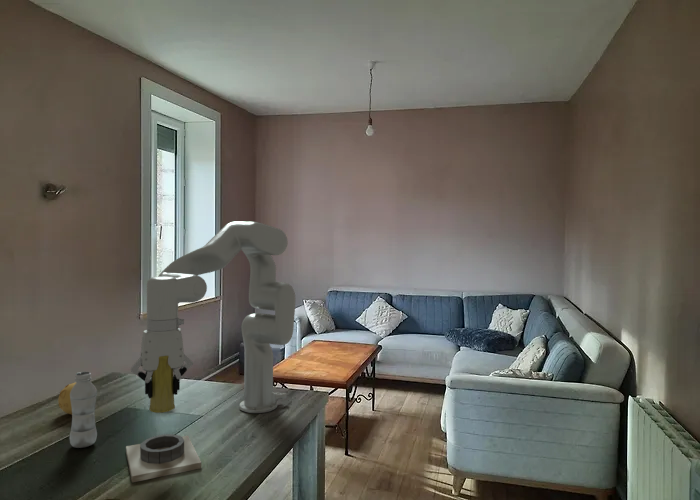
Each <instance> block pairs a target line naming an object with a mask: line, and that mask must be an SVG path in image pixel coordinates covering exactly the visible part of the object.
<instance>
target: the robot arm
mask: <svg viewBox="0 0 700 500" xmlns="http://www.w3.org/2000/svg"><path fill="white" fill-rule="evenodd" d="M288 241H289V240H288V237H287V234H286V232H284V231H283V229H280V228H278V227H274V226H271V225H268V224H266V223H262V222H257V221H231V222H229V223H226V224H225V225H224V226H223V227H222V228H221V229H220V230H219V231H217V233H216V234H215V235H214V236H213V237H212V238H211V239H209V240H208V242H206V244H205V245H204V244H203V245H204V246H201V247H199V248H197V249H195V250H192V251H191V252H189V253H187V254H184V255H182V256H180V257H178V258H177V259H175V260H174V261H172V262H171V263H169V264H168V265H167V266H166V267H165V268H164V269H163V270H162V271H161V272H160V273H159V275H157V276H153V277H150V278H148V280H147V282H146V329H145V330H143V332H142V336H141V343H140V345H141V346H140V357H139V358H137V360H136V362H134V364H133V365H132V366H131V367H130V371H131V372H132V373H133V374H135V376H138V378H140V379H141V380H143V381H144V394H145V395H147V397H148V399H150V398H151V397H152V382H151V376H152V373H153V371H155V370H157V367H158V364H159V357H160V356H169V357H168V364H169V366H170V367H171V369H173V380H174V396H176V395H177V396H178V391H180V388H181V387H180V385H181V384H180V383H181V378H182V376H183V375H184V374H186V372H187V371H188V369H190V368H191V367H192V366H193V365H194V362H193V361H192V360H191V359H190V358H189V356H188V355H186V354H185V352H184V340H183V334H182V330H181V329H182V328H179V327H180V326H181V325H184V324H185V319H183V318H180V317H179V303H187V304H189V303H196V302H199V301H200V300H203V298H204V297H205V295H206V293H207V290H208V286H207V282H206V280H205V279H204V278H203V277H201V276H200V275H204V274H210V273H213V272H217V271H220V270H223V269H224V268H225V267H227V265H229V263H230V262H231V261H232V260H233V259H234V258H235V257H236V256H237V255H238V254H239V253H240V251H241V252H243V254H244V255H245V257H246V258H247V260H248V262H249V269H250V271H249V272H250V273H249V274H250V276H249V285H248V286H249V288H248V302H249V305H250V306H251V307H252V308H254V309H258V310H265V311H274V313H275V314H270V313H262V312H258V313H257V312H256V313H255V312H254V313H250V314H247V315H246V316H245V317H244V319H243V320H242V322H241V334H242V335H241V336H242V341H243V346H244V348H243V349H244V365H243V366H244V372H243V373H244V375H243V377H244V379H243V381H244V382H243V383H244V385H243V387H244V388H243V390H244V391H243V395H244V396H243V398H244V399H243V400H242V401H241V402H240V403H239V405H238V406H239V407H238V408H239V410H241V411H242V412H245V413H249V414H261V413H262V414H263V413H268V412H271V411H273V410H275V409H277V407H278V401H279V400H286V399H287V397H288V395H287V393H286V392H282V393H281V392H280V391H278V392H274V353H273V352H274V351H273V348H272V346H271V345H275V346H276V345H278V346H279V345H280V346H284V345H287V344H289V342H290V341H291V340H292V337H293V334H294V327H295V316H296V314H295V313H296V311H295V310H296V292H295V289H294V287H293V286H292V285H290V284H289V282H288V283H287V282H281V281H277V279H276V277H277V267H276V266H277V265H276V262H275V259H274V258H273V257H272V256H280V255H282V254H283V253H284V252H286V250H287V247H288ZM140 367H142V370H143V371H145V372H143V371H142V370H140V369H139V368H140Z"/></svg>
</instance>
